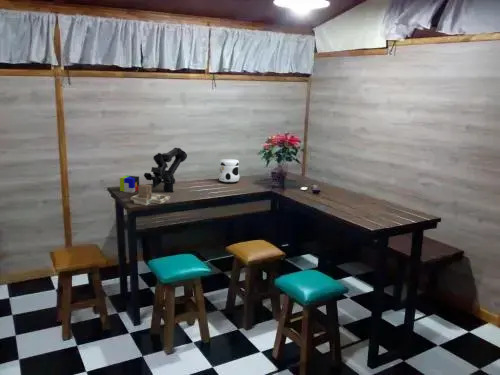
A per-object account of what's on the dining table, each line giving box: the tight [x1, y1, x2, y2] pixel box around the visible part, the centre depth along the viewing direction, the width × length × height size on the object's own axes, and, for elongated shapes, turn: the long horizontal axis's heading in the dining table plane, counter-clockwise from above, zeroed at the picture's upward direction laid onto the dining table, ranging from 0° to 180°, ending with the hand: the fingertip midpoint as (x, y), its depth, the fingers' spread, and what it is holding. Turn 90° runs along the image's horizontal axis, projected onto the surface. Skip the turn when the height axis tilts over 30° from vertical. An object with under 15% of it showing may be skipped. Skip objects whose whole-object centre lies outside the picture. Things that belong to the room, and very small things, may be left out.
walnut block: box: [138, 184, 152, 200], centre depth 287 cm, size 6×6×9 cm
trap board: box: [130, 192, 171, 206], centre depth 293 cm, size 24×22×4 cm
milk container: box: [218, 158, 241, 184], centre depth 358 cm, size 17×17×18 cm
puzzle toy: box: [119, 175, 140, 194], centre depth 316 cm, size 10×10×10 cm
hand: (153, 187), depth 297 cm, fingers closed
